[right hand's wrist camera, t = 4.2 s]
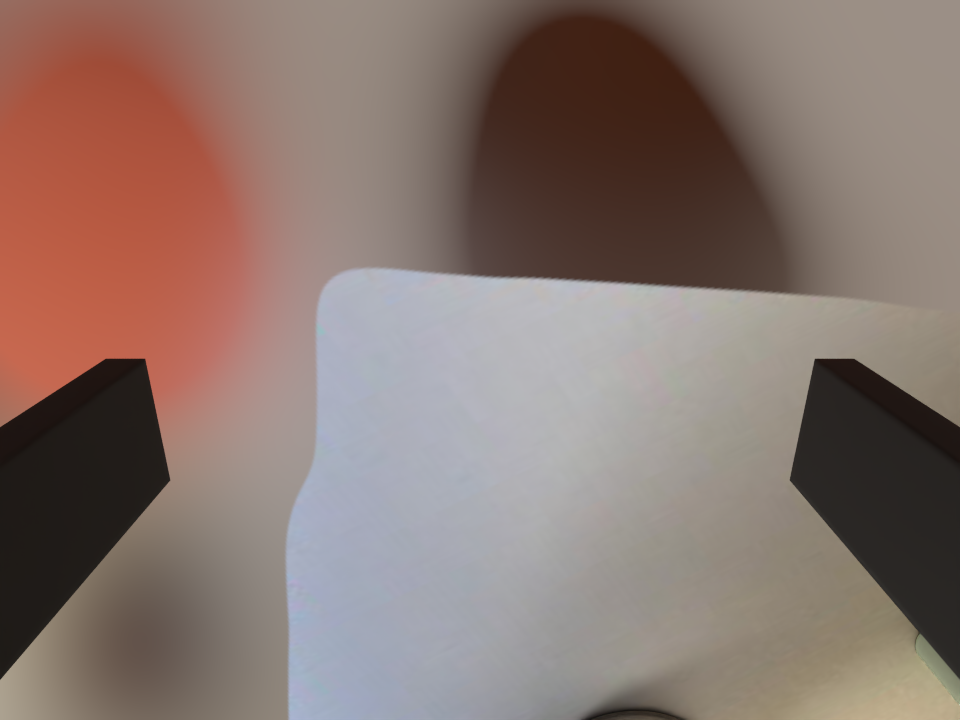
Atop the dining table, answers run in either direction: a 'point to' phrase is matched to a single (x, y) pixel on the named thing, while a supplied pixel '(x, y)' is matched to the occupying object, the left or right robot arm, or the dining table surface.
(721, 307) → the dining table surface
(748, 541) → the dining table surface
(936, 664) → the pale green cylinder
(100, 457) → the right robot arm
